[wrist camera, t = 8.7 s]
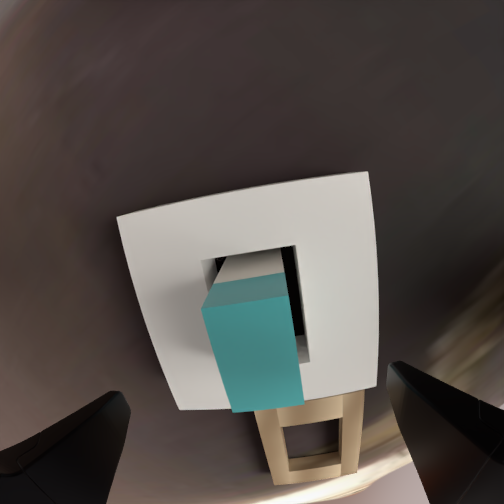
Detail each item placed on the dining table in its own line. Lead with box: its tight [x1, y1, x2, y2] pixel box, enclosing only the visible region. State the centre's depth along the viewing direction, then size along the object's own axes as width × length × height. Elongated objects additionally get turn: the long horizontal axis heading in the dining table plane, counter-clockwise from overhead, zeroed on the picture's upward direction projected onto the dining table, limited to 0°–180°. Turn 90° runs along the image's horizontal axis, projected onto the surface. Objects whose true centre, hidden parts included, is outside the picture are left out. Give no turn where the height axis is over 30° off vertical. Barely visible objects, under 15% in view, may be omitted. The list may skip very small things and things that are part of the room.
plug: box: [201, 247, 305, 413], centre depth 14 cm, size 3×5×7 cm, turn 11°
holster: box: [254, 389, 364, 485], centre depth 19 cm, size 7×11×2 cm
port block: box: [116, 172, 379, 410], centre depth 16 cm, size 12×12×3 cm
